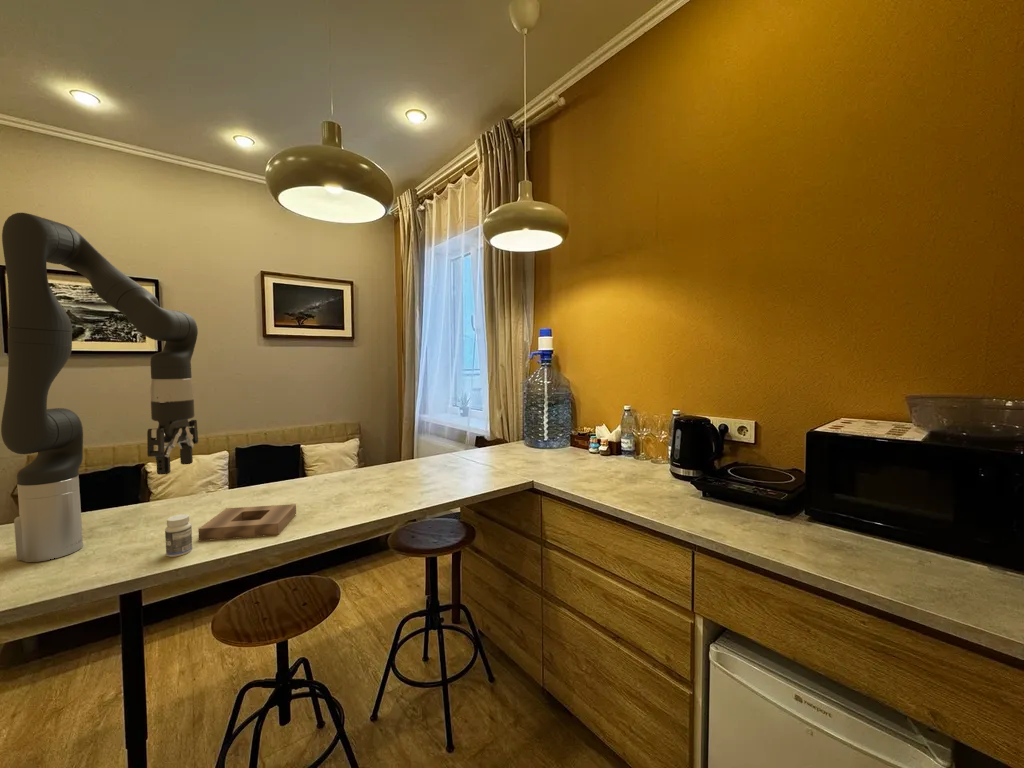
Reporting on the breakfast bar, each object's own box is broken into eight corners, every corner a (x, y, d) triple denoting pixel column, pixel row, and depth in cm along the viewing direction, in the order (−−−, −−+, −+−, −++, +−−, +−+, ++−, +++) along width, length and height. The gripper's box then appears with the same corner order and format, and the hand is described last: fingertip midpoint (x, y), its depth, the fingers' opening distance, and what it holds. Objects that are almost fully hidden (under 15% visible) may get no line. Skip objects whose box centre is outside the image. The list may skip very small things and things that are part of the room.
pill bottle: (165, 552, 94) (163, 517, 93) (191, 545, 97) (189, 511, 97) (167, 559, 90) (165, 523, 90) (193, 552, 94) (192, 517, 93)
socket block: (198, 540, 100) (198, 528, 100) (226, 518, 113) (226, 508, 113) (278, 534, 103) (278, 523, 103) (296, 514, 117) (295, 504, 117)
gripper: (173, 395, 98) (176, 461, 99) (130, 402, 84) (134, 478, 85) (208, 395, 99) (210, 460, 100) (172, 401, 85) (175, 476, 86)
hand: (175, 468), depth 93 cm, fingers open, 8 cm apart
